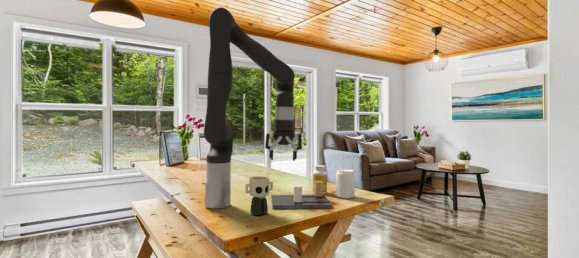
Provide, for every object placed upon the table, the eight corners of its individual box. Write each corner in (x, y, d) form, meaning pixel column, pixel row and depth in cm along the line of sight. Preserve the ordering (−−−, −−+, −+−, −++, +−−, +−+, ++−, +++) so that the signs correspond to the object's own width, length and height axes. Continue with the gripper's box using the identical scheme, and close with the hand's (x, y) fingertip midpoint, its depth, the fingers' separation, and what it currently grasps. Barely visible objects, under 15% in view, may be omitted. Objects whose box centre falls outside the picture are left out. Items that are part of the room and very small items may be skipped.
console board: (272, 209, 115) (272, 204, 115) (271, 198, 131) (271, 194, 131) (332, 208, 117) (332, 204, 117) (323, 197, 133) (323, 194, 133)
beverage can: (357, 196, 137) (357, 170, 136) (350, 200, 130) (350, 172, 129) (340, 193, 141) (340, 168, 141) (333, 197, 134) (333, 170, 134)
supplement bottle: (326, 195, 138) (326, 167, 138) (311, 194, 140) (312, 166, 139) (327, 191, 145) (327, 165, 145) (313, 190, 146) (314, 164, 146)
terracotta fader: (315, 196, 128) (315, 182, 128) (314, 194, 130) (314, 181, 130) (322, 196, 128) (322, 182, 128) (321, 194, 131) (321, 181, 130)
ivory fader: (294, 202, 118) (294, 187, 118) (293, 200, 120) (293, 185, 120) (301, 202, 118) (302, 187, 118) (301, 200, 121) (301, 185, 121)
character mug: (249, 218, 103) (249, 180, 103) (241, 213, 109) (241, 177, 109) (277, 214, 109) (277, 178, 109) (267, 209, 115) (268, 175, 115)
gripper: (265, 118, 114) (264, 161, 115) (303, 119, 115) (302, 161, 115) (266, 118, 122) (265, 158, 122) (301, 119, 122) (300, 159, 123)
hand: (283, 160), depth 119 cm, fingers open, 8 cm apart
